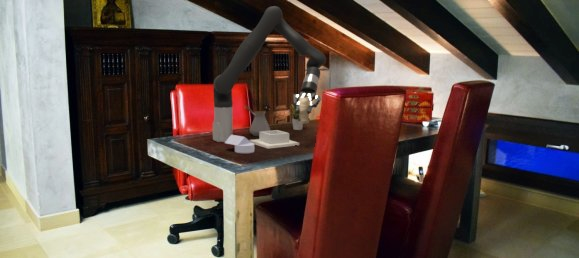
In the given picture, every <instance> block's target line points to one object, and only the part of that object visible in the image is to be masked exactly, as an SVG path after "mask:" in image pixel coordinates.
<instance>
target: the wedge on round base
mask: <svg viewBox="0 0 579 258" xmlns="http://www.w3.org/2000/svg"><path fill="white" fill-rule="evenodd" d="M249 140H250V139H248V138H247V137H245V136H242V135H235V134H233V135H231V136H230V137H229V138H228V139H227V140H226V142H224V144H226V145H233V146H234V152H235V153H237V154H251V153H252V154H253V153H254V152H255V144H254V143H251V142H250V141H249Z"/></svg>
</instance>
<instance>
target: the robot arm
mask: <svg viewBox="0 0 579 258" xmlns="http://www.w3.org/2000/svg"><path fill="white" fill-rule="evenodd" d="M274 30H275V32H277V33H278V34H279V35H281V36H282V38H284V39H285V40H286V41H287V42H288V44H290V46H291V47H292V48H293V49H294V50H295V51H296V52H297V53H298V54H299V55H300V56H301V57H305V56H309V58H308V60H307V61H306V63H305V64H306V67H305V69H306V73H305V76H304V78H303V82H302V85H301V89H300V93H298V94H296V93H294V94H293V95H292V97H293V106H295V109H296V112H297V113H299V101H300V97H307V98H309V106H308V110H307V113H308V114H309V115H310V114H312V111H313V110H312V109H314V108H317V107H318V106H319V104H320V102H321V100H322V97H321V95H320V94H319V95H317V91H318V87H319V81H320V76H321V70H320V68H321V67H322V66H324V65H325V64H326V62H327V58H326V54H324V52H322V51H321V50H319V49H317V48H316V47H315V46H312V45H311V44H310V43H309V42H308V41H307V39H305V38H304V37H303V36H302V35H301V34H300V33H298V32H297V31H296V30H294V29H293V28H292V27H291V26H290V24H288V22H287V21H286V20H285V19H284V16H283V11H282V9H281V8H280V7H279V6H276V5H273V6H272V5H271V6H269V7H267V8H266V9H265V11H264V13H263V15H262V16H261V18H260V20H259V22H258V23H257V25H256V27H254V28H253V29H252V30H251V32H249V34H248V35H247V36H246V37H245V38H244V39H243V41H242V42H241V43H240V45H239V47H238V48H237V50H236V51H235V53H234V55H233V57H232V59H231V61H230V63H229V65H228V66H227V67H226V68H225V70H223V72H221V74H219V75H217V76H216V77H215V78H214V80H213V109H214V111H213V114H214V115H213V117H214V118H213V121H212V140H213V141H215V142H217V143H219V142H222V143H225V142H226V140H227V139H228V138H229V137H230V136H231V135H234V134H233V131H234V130H233V126H234V125H233V115H234V114H233V111H234V110H233V107H234V106H233V104H234V103H233V88H234V86H235V84H236V83H237V81H238V79H239V78H240V76H241V74H243V72H244V71H245V70H246V68H247V67H249V65H250V64H251V63H252V61H253V60H254V59H255V58H256V56H257V54H259V52H260V51H261V50H262V47H263V45H264V44H265V42H266V40H267V38H268V36H269V35H270V34H271V33H272V31H274ZM297 100H298V101H297Z"/></svg>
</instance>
